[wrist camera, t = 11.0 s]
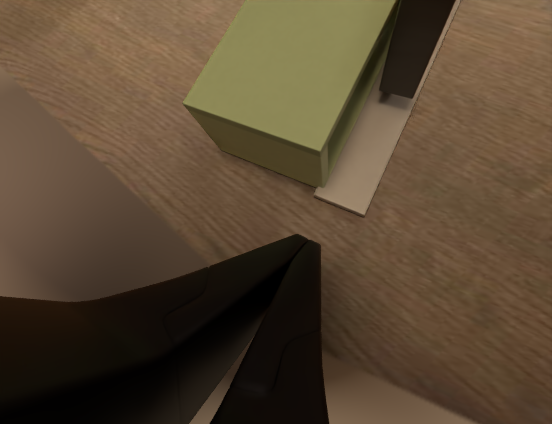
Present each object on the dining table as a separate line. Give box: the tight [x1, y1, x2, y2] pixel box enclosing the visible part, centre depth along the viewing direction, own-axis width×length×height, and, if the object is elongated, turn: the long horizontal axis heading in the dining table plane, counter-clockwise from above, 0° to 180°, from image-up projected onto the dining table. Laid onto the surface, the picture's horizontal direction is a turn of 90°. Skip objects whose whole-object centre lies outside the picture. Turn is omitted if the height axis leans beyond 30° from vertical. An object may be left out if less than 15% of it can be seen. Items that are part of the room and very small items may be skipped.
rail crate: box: [183, 0, 461, 217], centre depth 16 cm, size 18×11×5 cm, turn 153°
